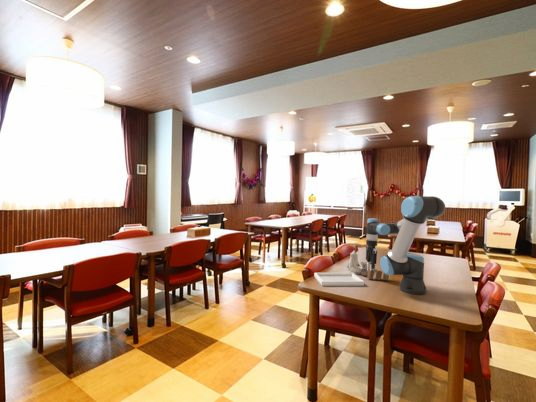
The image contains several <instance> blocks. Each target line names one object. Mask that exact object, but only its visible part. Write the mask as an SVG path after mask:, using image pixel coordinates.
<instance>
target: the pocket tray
mask: <svg viewBox="0 0 536 402" xmlns="http://www.w3.org/2000/svg"><path fill="white" fill-rule="evenodd" d="M313 274H314V276H313V277H314V278H315V280H316V281H317V282H318V283H319V285H320V284H321V285H320V286H321V287H364V286H365V281H364V280H363V279H362V278H360V277H359V276H357V274H354V273H352V272H314V273H313Z"/></svg>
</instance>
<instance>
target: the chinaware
mask: <svg viewBox="0 0 536 402" xmlns="http://www.w3.org/2000/svg"><path fill="white" fill-rule="evenodd" d="M349 254H350V257H349V259H350V260H349V262H348V263H347V264H346V268H347V269H348V271H350V273H354V274H355V275H360V274H361V273H362V271H363V270H364V269H365V271H367V261H365V262H364V261H362V262H360V263H359V259H358V257H359V253H358V252H356V250H353V251H351V252H350V253H349Z"/></svg>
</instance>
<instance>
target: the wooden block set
mask: <svg viewBox="0 0 536 402" xmlns="http://www.w3.org/2000/svg"><path fill="white" fill-rule="evenodd" d="M375 269H376V264H374V270H371V271H370V265H369V271H367V270H365V272H363V273H362V274H361V276H365V277H367V279H369V280H373V279H374V275H375V279H376V280H377V281H381V279H382V280H383V281H387V282H388V281H389V277H390V275H386V274H385V273H384V272H383V271H382V270H378V271H376V273H375ZM382 274H383V277H382Z"/></svg>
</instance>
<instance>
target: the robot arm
mask: <svg viewBox="0 0 536 402" xmlns="http://www.w3.org/2000/svg"><path fill="white" fill-rule="evenodd" d="M400 212H401V214H402V219H400V220H398V221H397V222H379V219H378V218H373V217H371V218H367V222H366V235H365V236H366V241H365V244H366V246H365V260H366V262H367V270H366V271H369V265H370V271H371V270H374V265H376V264H377V259H378V258H377V257H378V250H376V247H377V246H378V239H379V235H380V236H387V235H396V238H395V240H394V243H393V246H392V247H391V249H389V250H388V251H387V253H386V254H385V255H383V256H381V257H380V261H379V264H380V268H381V271H382V273H383V274H384V273H385V274H386V275H389V276H402V277H401V280H400V284H399V285H398V288H399V290H400V291H401V292H403V293H407V294H412V295H419V296H420V295H426V294H427V287H426V284H425V280H424V275H425V274H424V272H425V270H424V269H425V259H424V257H423V256H422V255H419V254H416V253H409V251H410V248H411V246H412V244H413V242H414V239H415V237H416V235H417V233H418V230H419V228H420V227H421V225H424V224H425V222H428V221H434V220H436V219H437V218H438V219H439V218H440V217H441V216H443V215H444V214H445V212H446V204H445V202H444V201H443V199H441V198H439V197H437V196H434V195H433V196H425V195H424V196H423V195H410V196H407V197H405V198H404V199H403V201H402V203H401V205H400ZM374 271H375V270H374Z"/></svg>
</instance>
